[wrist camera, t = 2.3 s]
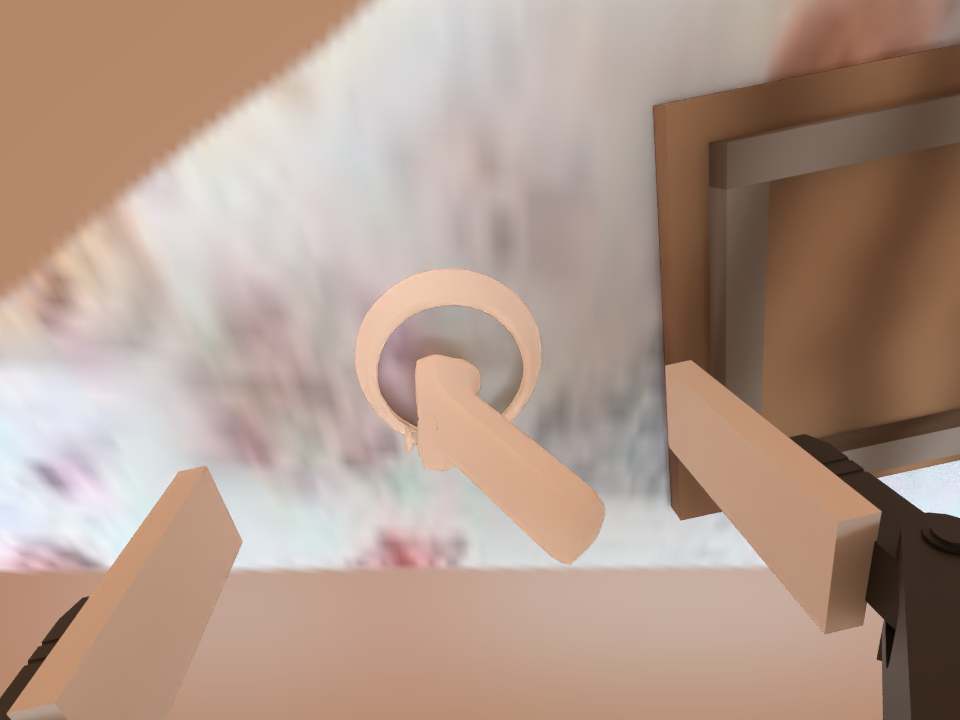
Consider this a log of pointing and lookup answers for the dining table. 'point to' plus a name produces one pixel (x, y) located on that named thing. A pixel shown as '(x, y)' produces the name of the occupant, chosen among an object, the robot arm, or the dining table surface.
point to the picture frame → (820, 257)
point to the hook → (480, 413)
